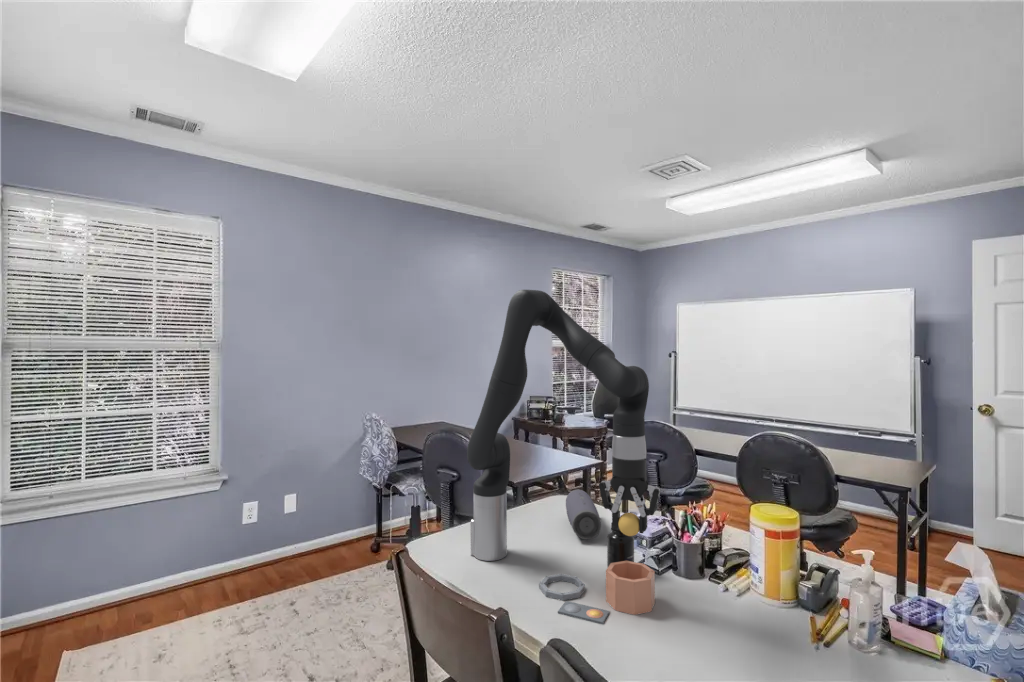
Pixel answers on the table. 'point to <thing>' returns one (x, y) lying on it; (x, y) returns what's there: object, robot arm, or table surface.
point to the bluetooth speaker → (582, 514)
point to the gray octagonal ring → (558, 594)
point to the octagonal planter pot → (630, 587)
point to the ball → (629, 524)
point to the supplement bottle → (619, 547)
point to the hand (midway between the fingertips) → (629, 529)
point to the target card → (584, 612)
